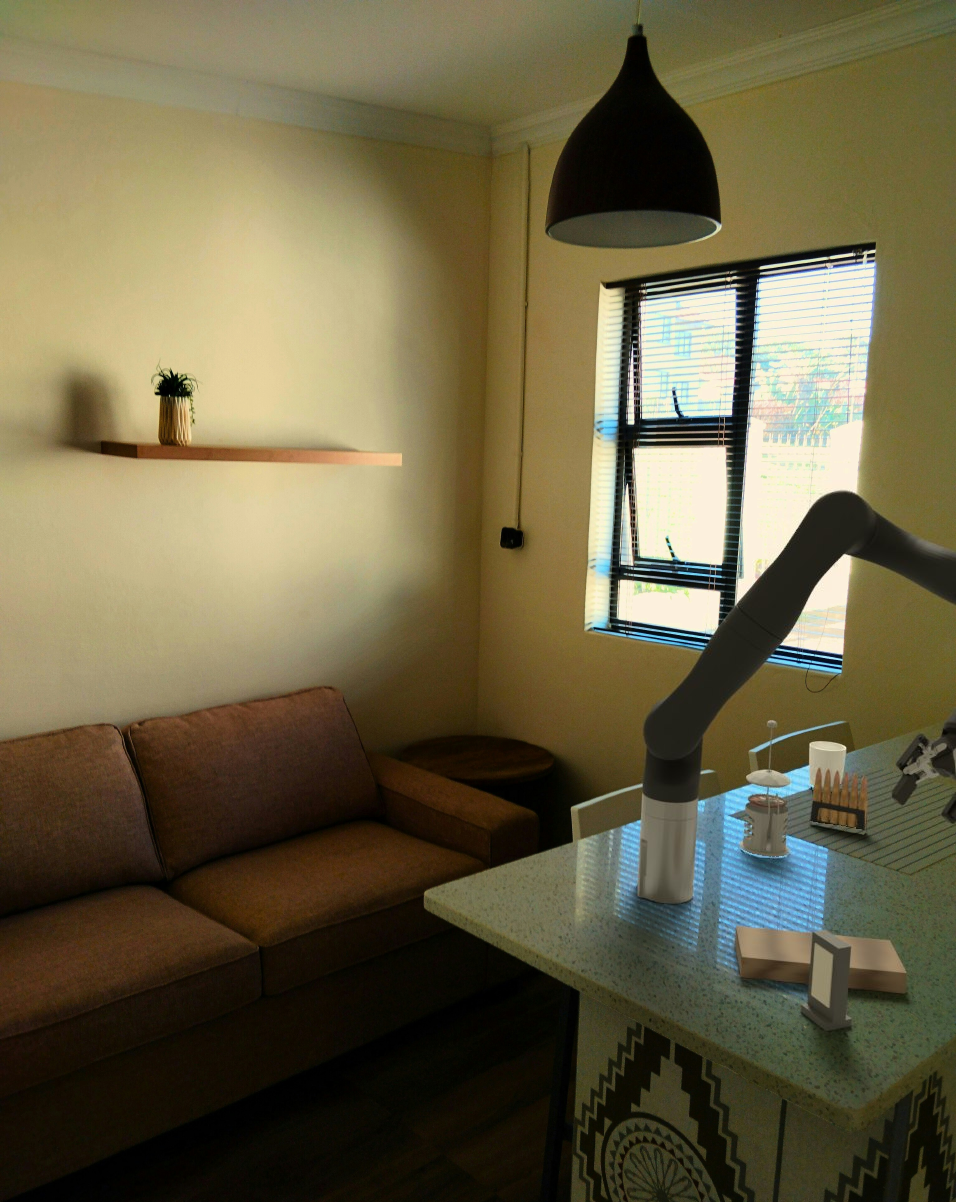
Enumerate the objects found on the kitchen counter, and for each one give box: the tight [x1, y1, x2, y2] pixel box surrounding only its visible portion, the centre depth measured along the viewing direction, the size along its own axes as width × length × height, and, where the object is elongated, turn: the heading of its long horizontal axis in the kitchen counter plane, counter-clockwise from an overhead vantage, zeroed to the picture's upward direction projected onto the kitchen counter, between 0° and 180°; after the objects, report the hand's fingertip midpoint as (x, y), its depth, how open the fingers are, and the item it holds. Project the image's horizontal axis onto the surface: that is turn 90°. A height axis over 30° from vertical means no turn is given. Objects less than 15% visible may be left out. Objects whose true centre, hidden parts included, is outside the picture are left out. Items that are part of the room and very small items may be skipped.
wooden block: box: [734, 925, 908, 994], centre depth 146 cm, size 22×10×3 cm, turn 81°
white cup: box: [808, 740, 847, 787], centre depth 230 cm, size 8×8×10 cm
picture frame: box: [800, 929, 853, 1032], centre depth 132 cm, size 4×5×11 cm
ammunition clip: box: [809, 767, 868, 830], centre depth 204 cm, size 11×2×12 cm, turn 57°
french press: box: [739, 719, 792, 857], centre depth 190 cm, size 10×12×25 cm
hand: (921, 810), depth 135 cm, fingers open, 8 cm apart
